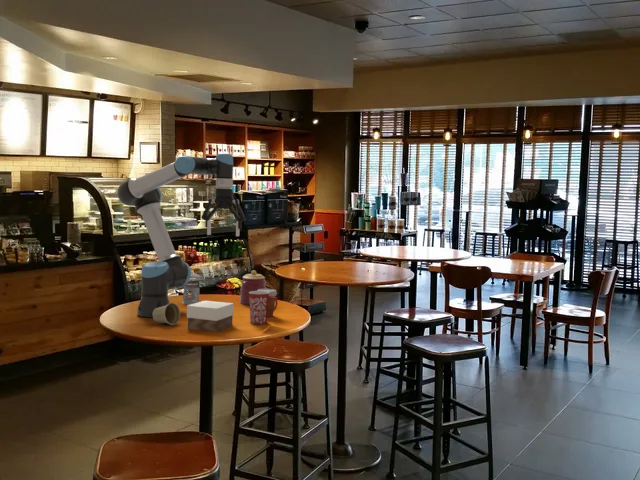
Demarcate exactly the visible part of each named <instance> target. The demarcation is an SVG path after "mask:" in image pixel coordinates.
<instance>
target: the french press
mask: <svg viewBox="0 0 640 480" xmlns="http://www.w3.org/2000/svg"><path fill="white" fill-rule="evenodd" d="M189 256H190V257H195V254H193V253H191V254H190V255H189ZM200 277H201V276H200V275H199V274H197V273H194V272H191V277H190V279H199V278H200ZM199 285H200V284H199V283H197V282H196V283H193V282H190V283H189V282H188V283H187V284H186V285H184V286H183V291H182V290H181V287H177V289H178V292H180V293H181V294H182V295H183V297H182V303H181V304H183V305H191V304H194V303H198V302H200V286H199Z"/></svg>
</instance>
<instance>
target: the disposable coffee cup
mask: <svg viewBox="0 0 640 480" xmlns="http://www.w3.org/2000/svg"><path fill="white" fill-rule="evenodd" d="M257 291H267V292H269V297H272V296H273V297H276V296H277V294H278V292H277V289H273V288H266V289H258V290H257ZM276 298H277V297H276ZM275 305H276V301H275V299H273V298H272V299H271V300H270V301H269V303H268V315H269V314H270V313H271V312H272V311H273V309H274V308H275ZM273 316H274V312H273V313H272V315H271V316H270V317H269V318H271V317H273Z"/></svg>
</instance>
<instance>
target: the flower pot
mask: <svg viewBox="0 0 640 480" xmlns="http://www.w3.org/2000/svg"><path fill="white" fill-rule="evenodd" d="M179 307H180V306H179V305H178V304H177V303H175V302H169V304H167V305H166V306H162V307H159V308H156V309H154V311H153V314H152V315H153V317H152V319H153V321H154V322H156V323H157V324H168V325H170V326H175V325H177V324H178V323H179V321H180V318H181V311H180V308H179Z"/></svg>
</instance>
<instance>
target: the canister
mask: <svg viewBox="0 0 640 480" xmlns="http://www.w3.org/2000/svg"><path fill="white" fill-rule="evenodd" d="M265 279H266V277H265V276H264V275H263V274H261V273H257V271H256V270H254V269H253V270H251V273H246V274H244V275H243V276H242V280H241V281H240V283H241V286H240V299H239V303H240V304H241V305H244V306H250V299H249V292H251V291H257V290H258V289H267V288H266V284H267V281H266V280H265Z"/></svg>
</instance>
